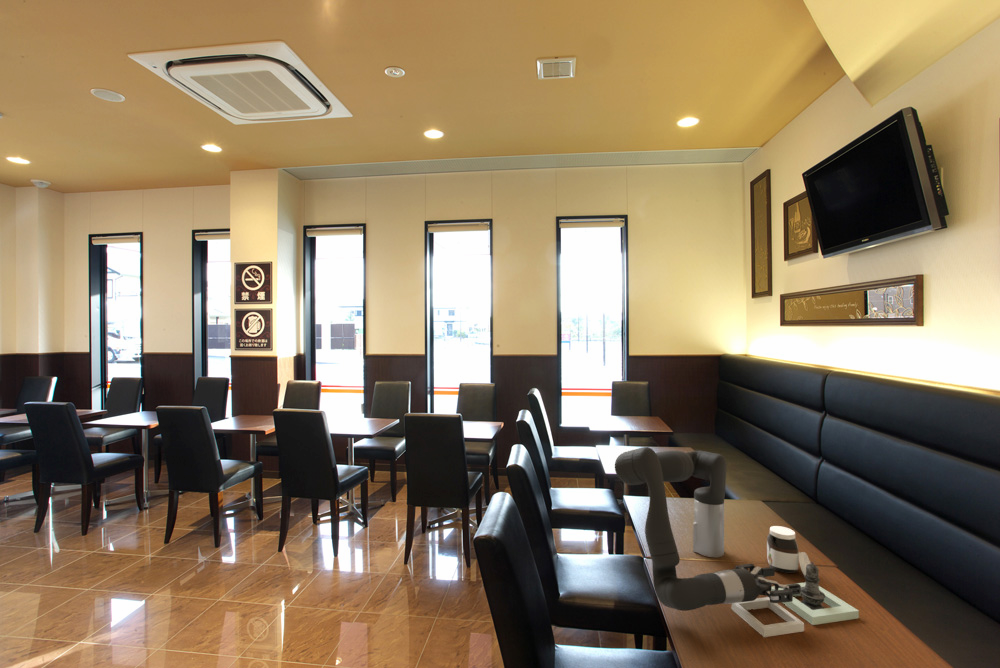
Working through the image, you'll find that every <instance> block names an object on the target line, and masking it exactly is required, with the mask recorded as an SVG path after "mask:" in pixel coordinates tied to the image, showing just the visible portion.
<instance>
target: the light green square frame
mask: <svg viewBox="0 0 1000 668" xmlns="http://www.w3.org/2000/svg"><path fill="white" fill-rule="evenodd" d="M795 584H799V585H800V586H801V587H805V584H806V581H805V582H797V583H795ZM787 585H789V584H787ZM773 590H775V586H774V585H773V586H772V589H771V591H773ZM778 590H784V589H782V588H778ZM819 590H820V591H821V592H823V593H824V594H825V598H824V601H823V603H825V604H827V606H829V607H824V609H817V610H812V609H810V608H809V607H807V606H806V605H804V604H803V603H802V602H801V601H800V600H799V599H797V598H796V597H802V596H801V593H800V594H794V595H793V596H795V597H793V601H792V602H782V603H781V604H783V605H784V604H785V605H784V606H786V607H787V608H788V609H790V610H791V611H793V612H794V613H795V614H797V615H798V616H799V617H800V618H802V619H803V620H805V621H806V622H807V623H809V624H811V625H812V626H816V625H822V624H829V623H836V622H842V621H850V620H855V619H856V620H857V619H859V618H860V614H859V612H860V610H859V609H857V608H855V607H854V606H852V605H850V603H847V601H846V602H845V601H844V600H843V599H841V598H839V597H838V596H836V595H835V594H833V593H832V592H830V591H828V590H826V589H825V588H823V587H821V586H820V585H819Z"/></svg>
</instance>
